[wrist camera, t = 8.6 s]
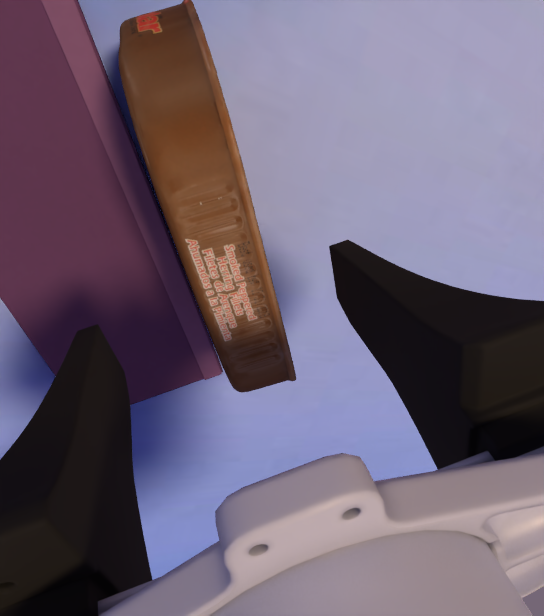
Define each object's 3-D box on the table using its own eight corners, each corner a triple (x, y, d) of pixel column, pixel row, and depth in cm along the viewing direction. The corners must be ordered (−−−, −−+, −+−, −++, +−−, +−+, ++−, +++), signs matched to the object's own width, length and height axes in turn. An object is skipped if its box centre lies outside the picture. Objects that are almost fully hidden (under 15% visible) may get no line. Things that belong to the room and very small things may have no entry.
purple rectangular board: (86, 415, 29) (86, 422, 29) (-183, 30, 17) (-189, 33, 16) (221, 367, 30) (223, 373, 30) (63, -38, 17) (62, -37, 17)
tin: (268, 300, 28) (321, 417, 22) (212, 319, 28) (250, 443, 21) (182, -20, 18) (233, 17, 12) (96, 5, 18) (100, 55, 12)
